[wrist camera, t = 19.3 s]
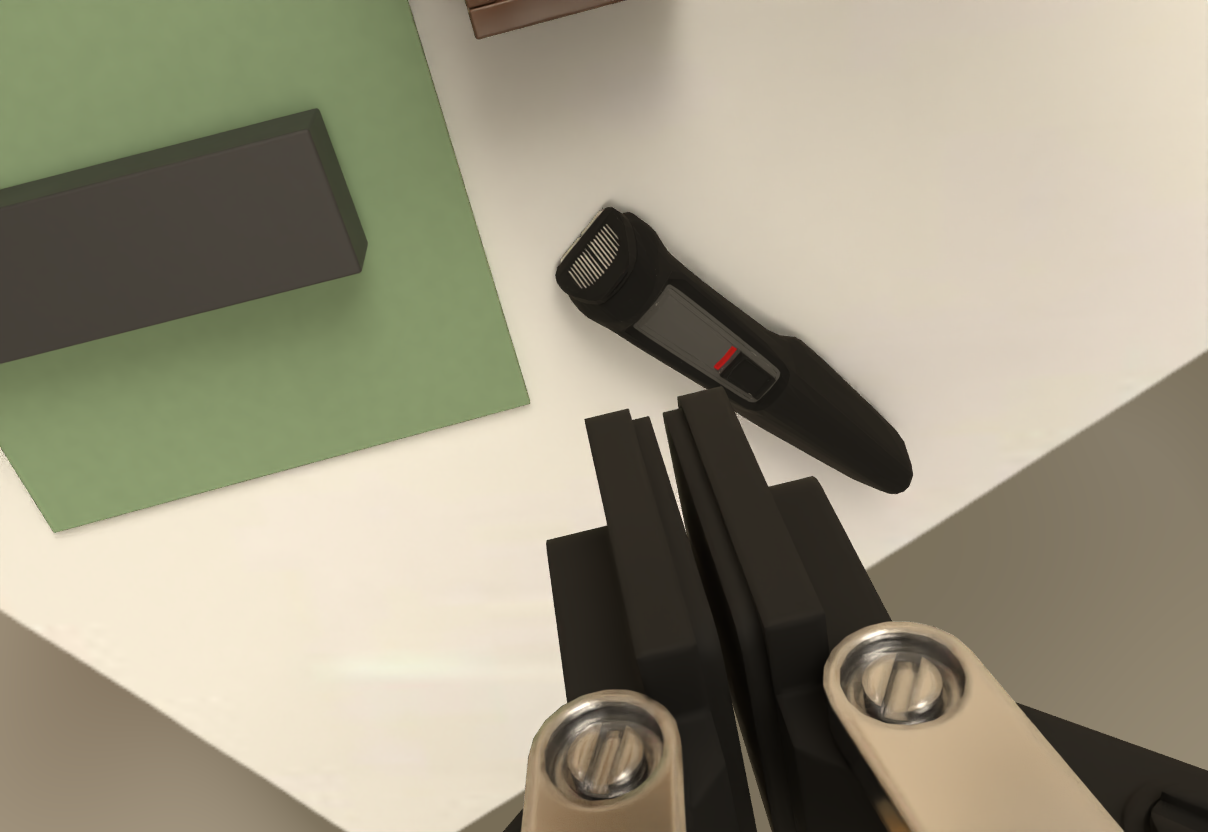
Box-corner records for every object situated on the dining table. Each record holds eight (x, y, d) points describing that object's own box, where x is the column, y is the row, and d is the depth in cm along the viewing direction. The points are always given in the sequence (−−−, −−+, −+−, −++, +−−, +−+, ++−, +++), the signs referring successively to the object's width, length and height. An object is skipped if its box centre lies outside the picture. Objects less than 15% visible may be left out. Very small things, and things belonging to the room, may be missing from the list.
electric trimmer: (843, 482, 44) (872, 528, 41) (545, 276, 37) (556, 315, 35) (909, 416, 43) (943, 458, 40) (613, 192, 36) (630, 224, 34)
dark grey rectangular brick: (320, 103, 33) (-115, 215, 33) (308, 128, 31) (-160, 249, 31) (370, 240, 35) (-37, 343, 36) (362, 273, 33) (-73, 383, 33)
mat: (-298, -43, 29) (-305, -41, 29) (343, -212, 30) (342, -212, 29) (56, 528, 40) (53, 533, 39) (529, 400, 40) (530, 403, 40)
